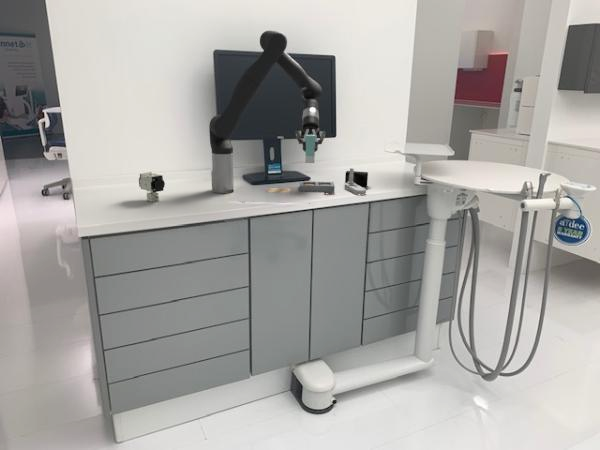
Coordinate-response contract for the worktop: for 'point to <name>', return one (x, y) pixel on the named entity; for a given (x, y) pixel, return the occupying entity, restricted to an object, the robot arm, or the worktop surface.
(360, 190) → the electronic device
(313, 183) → the port block
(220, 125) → the robot arm
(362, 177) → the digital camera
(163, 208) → the worktop surface
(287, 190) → the deck
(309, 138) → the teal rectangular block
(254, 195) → the worktop surface
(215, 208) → the worktop surface
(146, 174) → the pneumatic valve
